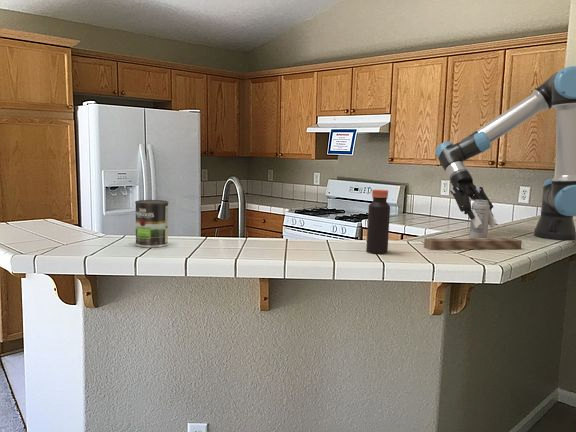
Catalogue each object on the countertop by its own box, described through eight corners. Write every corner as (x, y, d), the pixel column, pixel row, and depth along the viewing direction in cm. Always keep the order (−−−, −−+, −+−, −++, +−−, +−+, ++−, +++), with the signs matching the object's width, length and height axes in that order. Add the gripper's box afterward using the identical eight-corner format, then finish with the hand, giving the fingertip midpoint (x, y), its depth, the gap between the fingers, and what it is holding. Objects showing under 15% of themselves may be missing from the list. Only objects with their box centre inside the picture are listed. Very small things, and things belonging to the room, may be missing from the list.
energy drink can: (490, 242, 186) (493, 201, 184) (479, 243, 182) (483, 201, 180) (475, 239, 191) (479, 199, 189) (465, 240, 187) (468, 199, 185)
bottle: (365, 249, 169) (368, 189, 166) (385, 250, 169) (389, 189, 166) (367, 253, 162) (370, 190, 160) (389, 254, 162) (392, 191, 159)
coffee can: (156, 249, 159) (156, 204, 158) (128, 245, 163) (128, 201, 161) (174, 243, 169) (174, 201, 167) (148, 240, 173) (147, 198, 171)
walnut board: (512, 246, 184) (512, 237, 183) (521, 249, 179) (521, 240, 178) (423, 247, 177) (424, 238, 176) (430, 250, 172) (431, 240, 171)
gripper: (473, 182, 201) (501, 231, 189) (433, 182, 195) (459, 232, 182) (484, 170, 196) (513, 218, 183) (443, 169, 189) (470, 219, 176)
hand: (486, 225), depth 182 cm, fingers closed on energy drink can, 6 cm apart
